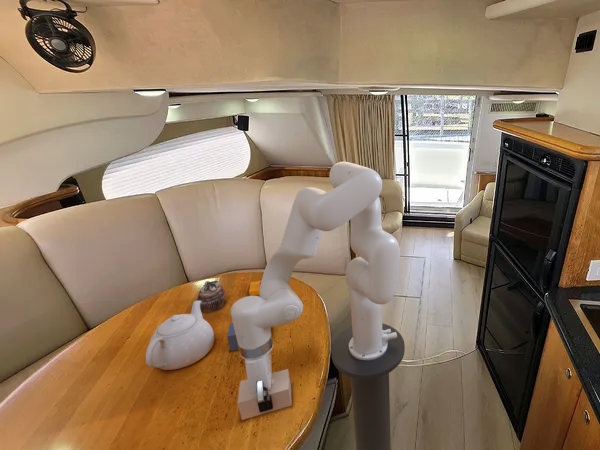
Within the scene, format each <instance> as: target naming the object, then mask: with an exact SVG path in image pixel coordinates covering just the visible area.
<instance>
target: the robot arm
mask: <svg viewBox="0 0 600 450" xmlns="http://www.w3.org/2000/svg"><path fill="white" fill-rule="evenodd" d="M329 181H330V184H331V185H332V188H333V189H331V190H330V191H326V190H323V189H322V188H319V187H314V186H306V187H304V188H301V189H300V190H299V191H298V192H297V193H296V195H295V197H294V199H293V203H292V205H291V210H290V213H289V216H288V220H287V223H286V226H285V230H284V233H283V237H282V240H281V243H280V246H279V247H278V248H277V249H276V251H274V253H273V255H272V256H271V257H270V258H269V260H268V262H267V263H266V266H265V268H264V271H263V275H262V277H261V280H262V281H261V280H260V281H261V285H260V295H254V296H250V295H248V296H244V297H242V298H238V300H236V301H235V302H234V303H233V304H232V306H231V307H230V316H231V321H232V322H233V325H234V329H235V334H236V338H237V342H238V347H239V349H238V350H239V355H240V357H241V358H242V360H244V365H245V374H246V379H247V380H248V386H249V392H250V394H251V395H252V394H255V392H256V394H257V403H258V408H259V412H264V411H268V410H271V409H273V404H272V399H271V396H270V395H269V389H270V388H271V374H272V373H273V372H272V371H273V370H272V369H273V364H272V356H271V355H272V354H271V351H272V350H273V348H274V340H273V335H272V327H276V326H281V325H286V324H290V323H292V322H294V321H296V320H298V319H300V317H301V315H302V314H303V311H304V304H303V301H302V300H301V298H300V297H299V296H298V295H297V293H296V292H295V291H294V290H293V288H292V287H291V286H290V282H291V278H292V275H293V272H294V269H295V267H296V266H297V264H298V263H299V262H300V261H302V260H303V259H304V260H307V259H308V260H309V259H312V258H313V257H315V256H316V254H317V251H318V248H319V244H320V242H321V238H322V235H323V232H331V231H334V230H336V229H338V228H340V227H342V226H343V225H345V224H346V223H348V222H349V221H350V230H349V231H350V232H349V233H350V235H349V237H350V238H349V240H350V241H349V243H350V249H351V250H352V252H353V253H354V254H356V255H357V256H356V257H354V258H352V259H351V260H350V261H349V262H348V264H347V266H346V267H345V268H346V269H345V281H346V286H347V291H348V294H349V303H350V315H351V317H350V318H351V326H352V331H353V337H352V339H351V340H350V342H349V351H350V353H351V355H352V356H354V357H355V358H357V359H360V360H373V359H376V358H378V357H380V356H382V355H383V354H384V353H385V351H386V350H387V347H388V342H387V341H388V340H389V339H395V338H397V333H396V332H393V333H391V330H390V329H388V330H382V323H383V305H386V304H388V303H390V302H391V301H392V300H393V298H394V297H395V295H396V294H397V291H398V288H399V280H400V279H399V278H400V269H401V268H400V266H401V247H400V244H399V241H398V239H397V238H396V237H395V236H394V235H392V234H391V233H389V232H387V231H386V230H384V229H383V227H382V205H381V204H382V203H381V200H380V199H381V198H380V195H381V194H382V191H383V180H382V178H381V176H380V174H379V172H377V171H376V170H374V169H372V168H370V167H367V166H364V165H360V164H357V163H352V162H349V161H338V162H336V163H335V164H333V165H332V166H331V168H330V170H329ZM270 327H271V329H270ZM389 333H390V334H389ZM263 385H264V386H265V387H263ZM264 391H266V394H267V395H266V396H264Z"/></svg>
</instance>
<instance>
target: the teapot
mask: <svg viewBox="0 0 600 450" xmlns="http://www.w3.org/2000/svg"><path fill="white" fill-rule="evenodd" d="M201 302H202V301H197V300H193V302H192V307H191V311H190V313H180V314H174V315H172V316H171V317H169V318H167V319H165V320H164V321H163V322H162V323H161V324H159V325H158V326H157V328H156V329H155V332H154V333H153V334H152V336H151V338H150V340H149V344H148V346H147V348H146V352H145V363H146V365H147V366H148V367H149V368H154V369H161V370H163V371H172V370H178V369H179V370H180V369H183V368H185V367H188V366H190V365H193V364H196V363H197V362H198V361H200V360H201V359H203V358H204V357H205V356H206V355H207V354H208V353H209V352H210V351H211V350H212V348H213V346H214V342H215V334H214V333H215V332H214V329H213V327H212V325H211V324H210V323H209V322H208V321H207V320H206V319H204V316H203V313H202V309H201V307H200V304H201Z"/></svg>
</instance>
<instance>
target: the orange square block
mask: <svg viewBox="0 0 600 450" xmlns="http://www.w3.org/2000/svg"><path fill="white" fill-rule="evenodd" d="M261 281H262V279H261V280H255V281H250V285H249V290H248V294H249V296H260V285H261Z"/></svg>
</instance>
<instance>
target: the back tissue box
mask: <svg viewBox="0 0 600 450" xmlns="http://www.w3.org/2000/svg"><path fill="white" fill-rule="evenodd" d="M270 329H271V330H272V326H271V327H270ZM226 338H227V342H228V345H229V346H228V347H229V349H230V352H233V351H238V350H239V347H238V342H237V338H236V334H235V329H234V325H233V321H232V322H230V323H229V327H228V331H227V335H226Z"/></svg>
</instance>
